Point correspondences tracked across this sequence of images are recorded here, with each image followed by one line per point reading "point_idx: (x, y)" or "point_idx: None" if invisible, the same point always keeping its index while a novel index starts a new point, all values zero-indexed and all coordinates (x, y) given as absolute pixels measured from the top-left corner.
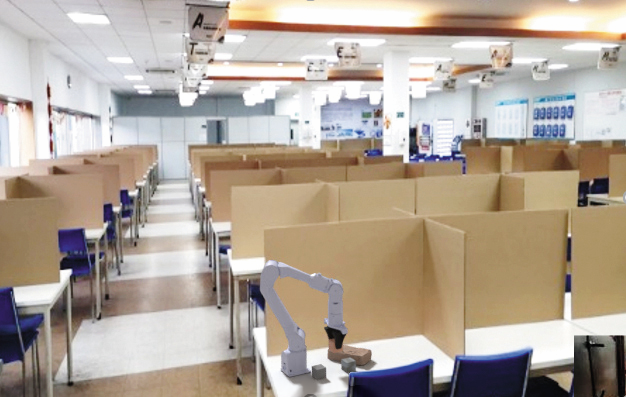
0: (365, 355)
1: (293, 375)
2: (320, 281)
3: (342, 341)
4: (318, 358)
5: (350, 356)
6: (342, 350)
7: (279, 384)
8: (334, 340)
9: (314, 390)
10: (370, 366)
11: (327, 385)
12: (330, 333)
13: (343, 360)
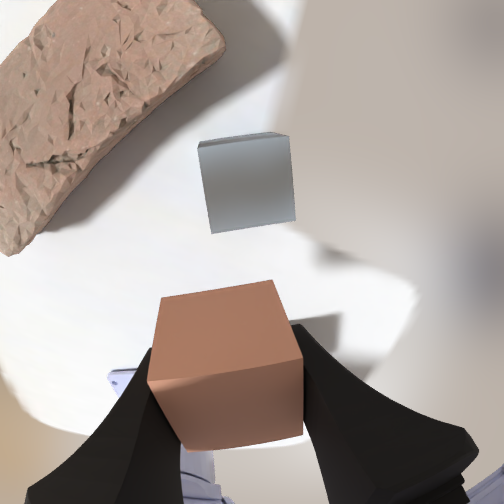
0: (200, 8)
1: None
2: None
3: (346, 376)
4: (32, 280)
5: (136, 120)
6: (274, 287)
7: (263, 444)
8: (237, 425)
9: (364, 375)
10: (244, 15)
11: (358, 332)
12: (175, 498)
13: (237, 225)
